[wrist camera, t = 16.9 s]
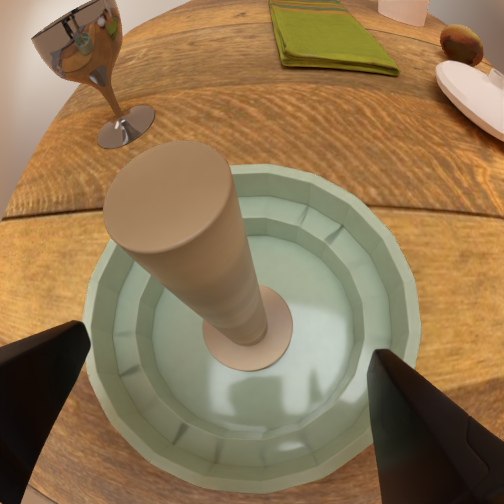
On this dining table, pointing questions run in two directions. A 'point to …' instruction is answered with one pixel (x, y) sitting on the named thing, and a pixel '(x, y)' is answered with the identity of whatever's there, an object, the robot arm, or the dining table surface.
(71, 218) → the dining table surface
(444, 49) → the fruit
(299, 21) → the dish towel
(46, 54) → the wine glass
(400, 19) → the bottle
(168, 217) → the beige piece
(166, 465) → the bowl
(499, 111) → the flat round vase
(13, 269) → the dining table surface
